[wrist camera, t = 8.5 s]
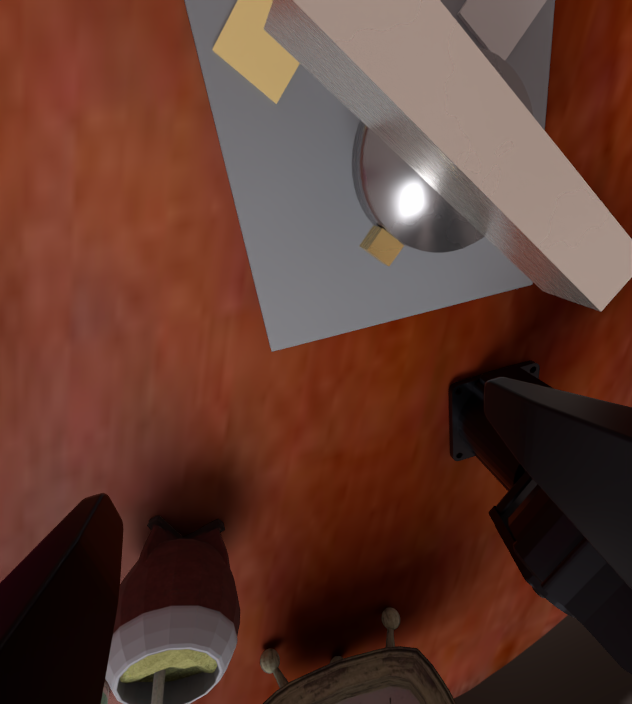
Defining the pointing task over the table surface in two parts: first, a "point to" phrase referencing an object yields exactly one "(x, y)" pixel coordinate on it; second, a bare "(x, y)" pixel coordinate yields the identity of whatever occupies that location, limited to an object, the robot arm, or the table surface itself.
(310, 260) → the base
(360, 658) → the tabletop clock
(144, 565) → the mate gourd
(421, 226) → the handle
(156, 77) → the table surface
